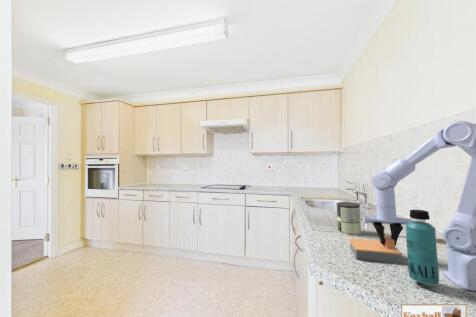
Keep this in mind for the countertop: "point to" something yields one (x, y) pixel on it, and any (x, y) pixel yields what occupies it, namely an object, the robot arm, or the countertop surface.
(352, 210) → the coffee can
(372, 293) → the countertop surface
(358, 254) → the parts tub
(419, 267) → the beverage bottle
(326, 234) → the countertop surface
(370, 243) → the tub lid
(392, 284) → the countertop surface
